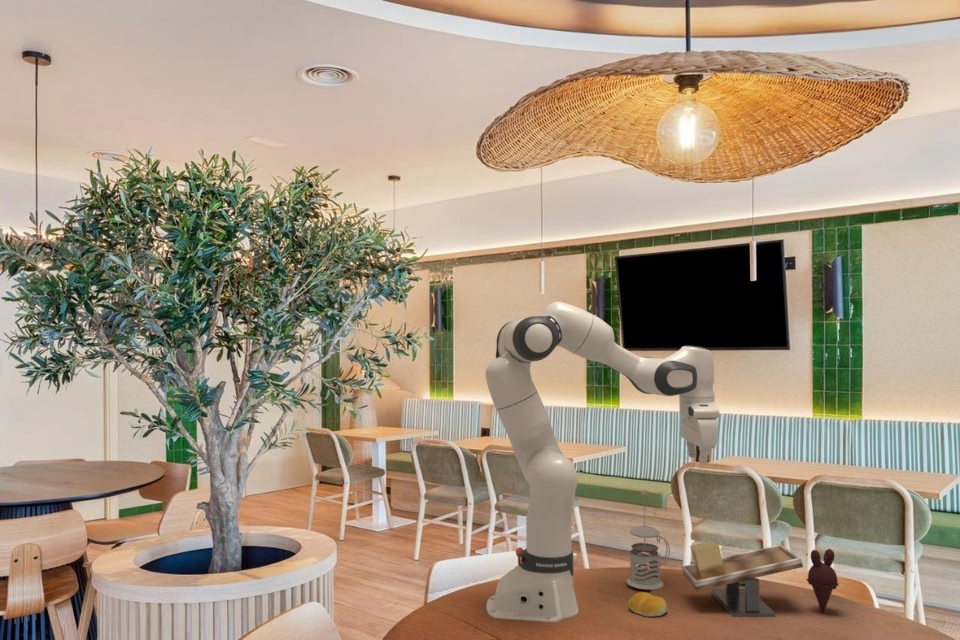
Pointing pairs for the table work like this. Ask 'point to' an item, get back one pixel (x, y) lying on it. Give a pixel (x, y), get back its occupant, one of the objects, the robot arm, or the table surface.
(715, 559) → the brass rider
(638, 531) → the french press
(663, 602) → the bread roll
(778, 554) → the balance beam
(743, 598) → the pivot stand
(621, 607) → the table surface
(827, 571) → the icecream
